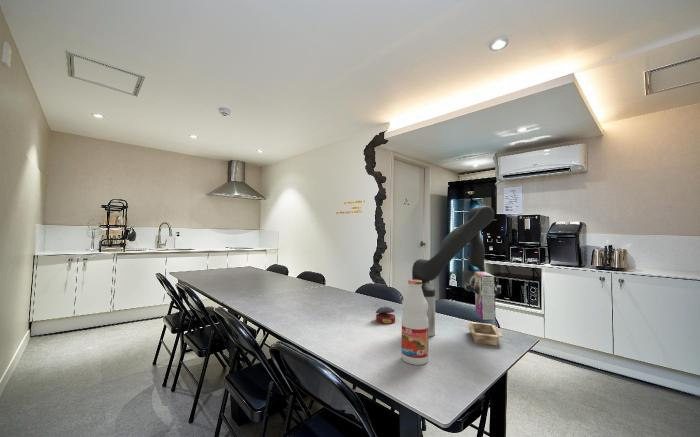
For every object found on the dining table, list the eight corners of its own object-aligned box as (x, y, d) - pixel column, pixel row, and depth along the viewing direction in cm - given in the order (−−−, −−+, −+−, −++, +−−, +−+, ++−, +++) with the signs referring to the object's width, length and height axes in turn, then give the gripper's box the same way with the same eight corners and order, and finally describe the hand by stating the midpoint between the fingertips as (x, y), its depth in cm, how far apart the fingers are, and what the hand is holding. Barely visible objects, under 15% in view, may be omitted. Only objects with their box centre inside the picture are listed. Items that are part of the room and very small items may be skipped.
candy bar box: (474, 312, 116) (473, 271, 117) (487, 312, 115) (487, 271, 116) (481, 320, 105) (480, 275, 106) (496, 321, 104) (495, 275, 105)
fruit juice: (433, 360, 102) (433, 280, 104) (418, 368, 96) (419, 283, 97) (411, 352, 109) (411, 277, 110) (395, 359, 102) (396, 279, 104)
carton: (471, 343, 119) (471, 333, 119) (467, 330, 136) (466, 321, 136) (503, 347, 115) (503, 337, 116) (494, 333, 132) (494, 324, 133)
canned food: (376, 331, 145) (368, 313, 148) (385, 324, 153) (377, 307, 156) (394, 325, 139) (384, 306, 142) (402, 318, 148) (394, 300, 150)
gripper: (461, 274, 126) (465, 280, 109) (498, 276, 122) (507, 283, 105) (462, 291, 125) (465, 300, 109) (498, 294, 121) (507, 303, 105)
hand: (486, 291), depth 107 cm, fingers closed on candy bar box, 5 cm apart
